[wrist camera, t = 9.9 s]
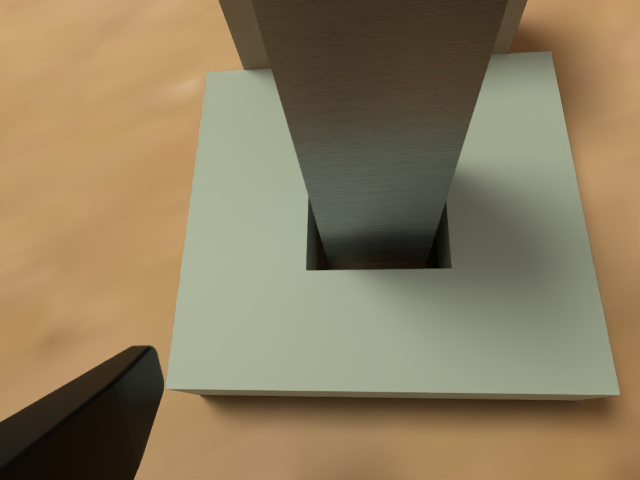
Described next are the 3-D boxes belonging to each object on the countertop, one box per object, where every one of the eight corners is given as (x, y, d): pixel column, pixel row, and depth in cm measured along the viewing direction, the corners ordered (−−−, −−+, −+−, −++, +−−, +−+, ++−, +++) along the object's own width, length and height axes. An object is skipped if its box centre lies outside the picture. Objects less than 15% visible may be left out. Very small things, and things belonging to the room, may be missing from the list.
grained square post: (422, 275, 18) (584, -247, 4) (332, 278, 18) (193, -194, 4) (415, 194, 19) (521, -419, 5) (331, 199, 19) (221, -366, 6)
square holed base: (577, 400, 16) (803, 371, 7) (199, 394, 17) (32, 365, 9) (511, 13, 22) (595, -239, 14) (238, 33, 23) (162, -186, 15)
